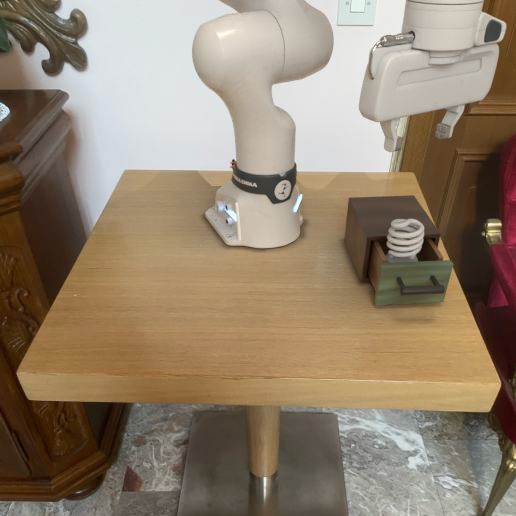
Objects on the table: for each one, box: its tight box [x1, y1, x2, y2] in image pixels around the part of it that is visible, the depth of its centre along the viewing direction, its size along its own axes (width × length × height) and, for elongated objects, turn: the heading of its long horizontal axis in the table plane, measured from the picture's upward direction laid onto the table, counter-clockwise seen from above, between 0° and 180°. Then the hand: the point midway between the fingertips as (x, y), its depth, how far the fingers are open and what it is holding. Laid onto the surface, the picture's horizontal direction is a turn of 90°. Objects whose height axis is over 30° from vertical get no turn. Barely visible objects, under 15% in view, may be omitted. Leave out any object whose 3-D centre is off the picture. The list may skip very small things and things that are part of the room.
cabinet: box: [343, 194, 442, 283], centre depth 97 cm, size 16×13×9 cm
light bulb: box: [386, 219, 424, 263], centre depth 85 cm, size 6×6×12 cm
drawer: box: [367, 238, 454, 306], centre depth 88 cm, size 19×11×7 cm, turn 4°
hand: (417, 143), depth 72 cm, fingers open, 8 cm apart
